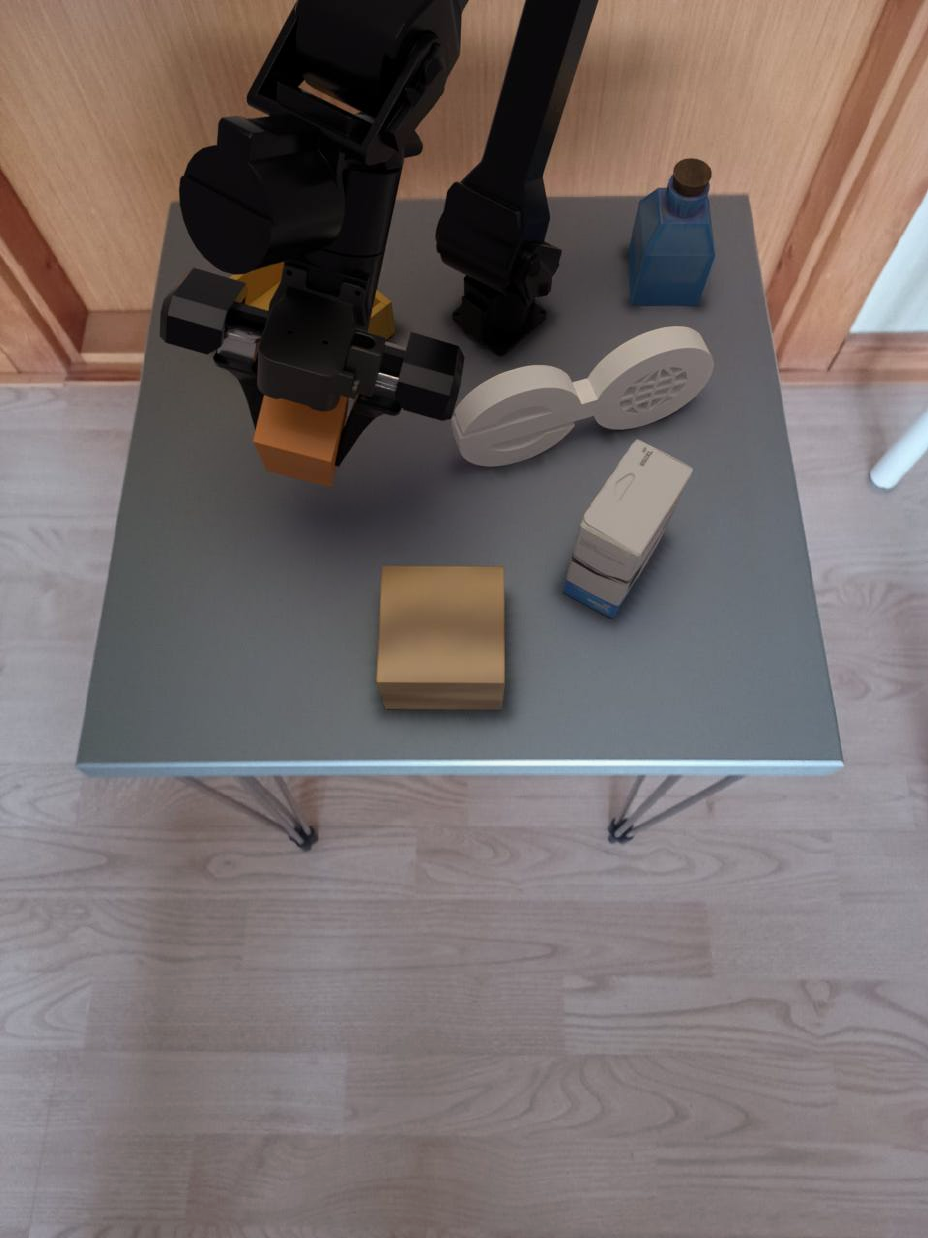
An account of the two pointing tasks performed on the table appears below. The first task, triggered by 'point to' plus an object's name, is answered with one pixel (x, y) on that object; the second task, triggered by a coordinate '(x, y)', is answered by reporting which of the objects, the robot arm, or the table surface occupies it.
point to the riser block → (441, 637)
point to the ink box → (624, 527)
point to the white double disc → (581, 397)
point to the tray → (269, 279)
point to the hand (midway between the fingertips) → (300, 453)
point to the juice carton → (300, 439)
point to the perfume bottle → (673, 240)
